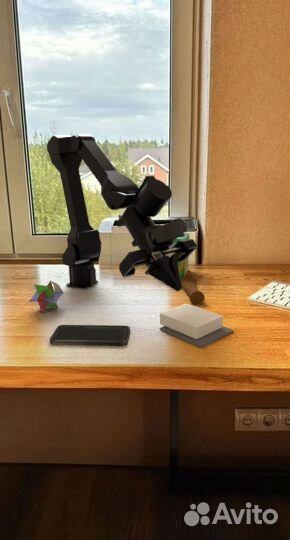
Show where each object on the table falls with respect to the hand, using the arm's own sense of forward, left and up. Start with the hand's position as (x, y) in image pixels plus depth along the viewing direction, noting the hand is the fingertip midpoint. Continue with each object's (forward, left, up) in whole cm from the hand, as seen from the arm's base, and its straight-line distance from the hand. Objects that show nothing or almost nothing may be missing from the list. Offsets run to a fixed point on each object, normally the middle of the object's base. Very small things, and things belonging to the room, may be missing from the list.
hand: (179, 290), depth 84 cm
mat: (+4, -2, -8) cm, 9 cm away
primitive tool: (-6, +21, -8) cm, 23 cm away
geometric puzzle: (-31, -5, -8) cm, 32 cm away
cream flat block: (-2, +1, -6) cm, 6 cm away
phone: (-14, -13, -8) cm, 21 cm away
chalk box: (-16, +33, -8) cm, 37 cm away
